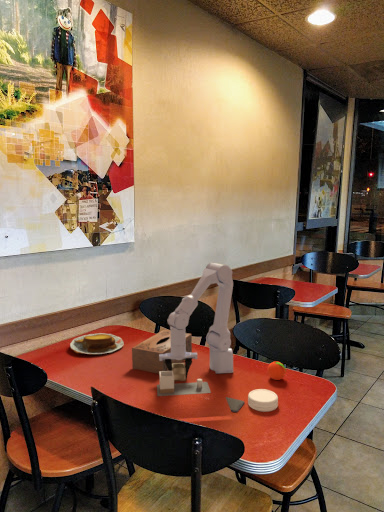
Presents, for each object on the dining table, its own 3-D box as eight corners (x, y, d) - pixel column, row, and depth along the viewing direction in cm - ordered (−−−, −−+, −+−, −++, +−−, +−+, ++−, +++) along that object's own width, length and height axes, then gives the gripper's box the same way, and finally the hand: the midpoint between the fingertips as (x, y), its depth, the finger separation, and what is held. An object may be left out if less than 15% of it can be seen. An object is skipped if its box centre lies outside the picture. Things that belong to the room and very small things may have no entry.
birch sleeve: (184, 377, 159) (184, 362, 158) (185, 383, 154) (185, 368, 153) (171, 378, 158) (171, 363, 157) (172, 383, 153) (172, 368, 152)
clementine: (291, 380, 156) (291, 362, 155) (280, 385, 151) (281, 367, 150) (274, 373, 161) (274, 356, 160) (263, 379, 157) (263, 361, 156)
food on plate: (113, 335, 210) (113, 323, 210) (132, 350, 189) (131, 337, 188) (64, 344, 197) (63, 331, 197) (77, 361, 176) (77, 347, 175)
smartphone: (206, 392, 145) (245, 400, 138) (206, 394, 146) (245, 403, 138) (196, 401, 139) (236, 411, 132) (196, 404, 139) (236, 413, 132)
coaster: (284, 406, 136) (284, 397, 135) (262, 415, 130) (262, 405, 130) (263, 395, 144) (263, 385, 144) (242, 403, 139) (242, 393, 138)
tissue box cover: (162, 377, 160) (162, 353, 158) (132, 371, 166) (131, 347, 165) (191, 355, 182) (191, 333, 181) (164, 350, 189) (163, 329, 187)
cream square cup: (173, 386, 149) (173, 370, 148) (174, 392, 144) (173, 376, 143) (159, 386, 149) (159, 371, 148) (160, 393, 144) (159, 377, 143)
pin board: (207, 384, 153) (207, 374, 152) (211, 395, 144) (210, 384, 143) (156, 387, 151) (156, 377, 150) (157, 398, 142) (157, 388, 141)
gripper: (159, 347, 149) (160, 382, 151) (198, 346, 151) (198, 380, 153) (158, 341, 156) (159, 374, 158) (196, 339, 158) (196, 372, 160)
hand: (178, 377), depth 156 cm, fingers closed on birch sleeve, 5 cm apart
